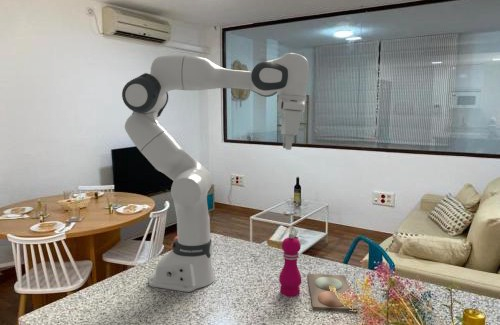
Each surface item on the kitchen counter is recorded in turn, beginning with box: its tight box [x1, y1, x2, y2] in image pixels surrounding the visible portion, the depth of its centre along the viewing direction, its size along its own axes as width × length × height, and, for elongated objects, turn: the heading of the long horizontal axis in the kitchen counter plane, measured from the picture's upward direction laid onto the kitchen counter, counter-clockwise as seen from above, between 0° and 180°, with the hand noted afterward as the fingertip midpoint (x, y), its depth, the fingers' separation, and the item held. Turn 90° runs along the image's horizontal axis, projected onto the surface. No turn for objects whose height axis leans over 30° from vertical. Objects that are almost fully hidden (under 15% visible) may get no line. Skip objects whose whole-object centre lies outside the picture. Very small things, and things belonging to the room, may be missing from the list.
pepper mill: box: [278, 232, 302, 298], centre depth 119 cm, size 7×7×20 cm
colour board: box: [306, 273, 358, 312], centre depth 121 cm, size 13×22×1 cm, turn 175°
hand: (286, 148), depth 120 cm, fingers open, 8 cm apart
